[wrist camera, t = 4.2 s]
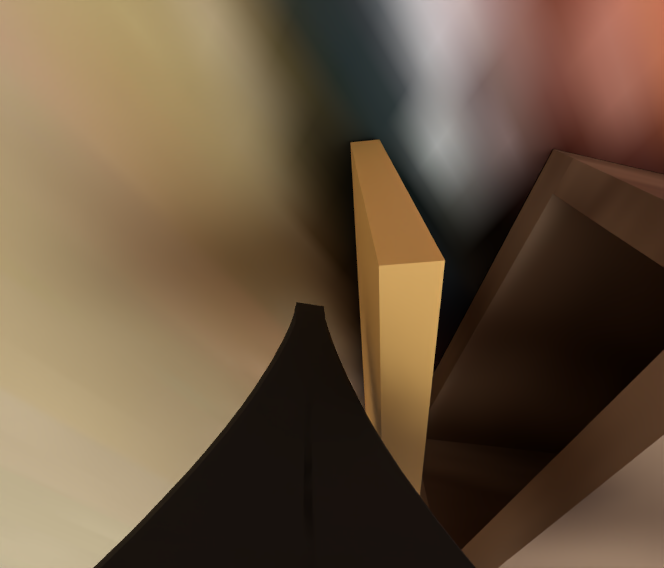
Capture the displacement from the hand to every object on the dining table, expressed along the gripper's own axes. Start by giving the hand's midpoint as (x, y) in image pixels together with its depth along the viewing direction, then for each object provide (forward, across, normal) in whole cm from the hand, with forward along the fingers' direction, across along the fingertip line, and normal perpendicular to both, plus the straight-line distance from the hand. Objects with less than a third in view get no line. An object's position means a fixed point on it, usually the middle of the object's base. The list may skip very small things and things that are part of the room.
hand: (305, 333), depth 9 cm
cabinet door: (+3, -3, +3) cm, 5 cm away
